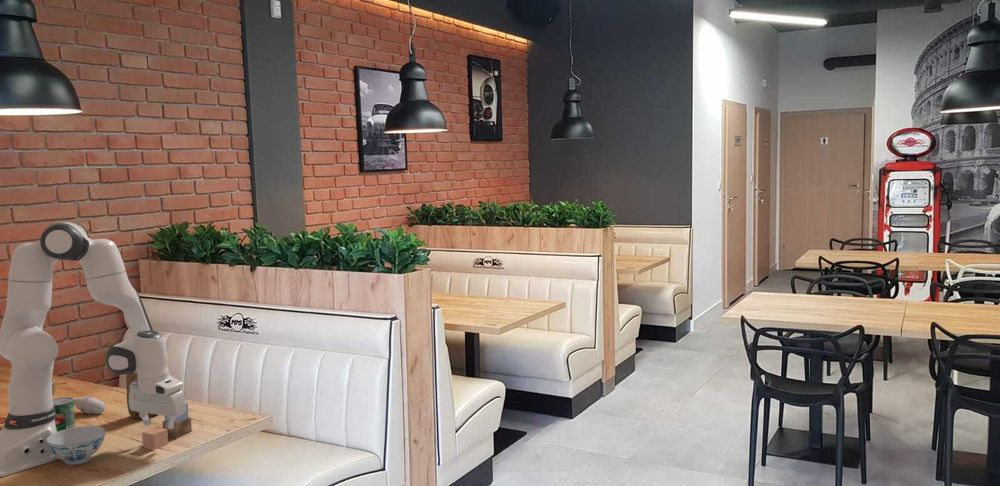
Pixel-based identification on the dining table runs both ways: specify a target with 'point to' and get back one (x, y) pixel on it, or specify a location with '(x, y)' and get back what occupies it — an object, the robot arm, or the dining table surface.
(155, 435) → the cube
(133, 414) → the brown oval lump
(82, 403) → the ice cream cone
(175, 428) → the tower base
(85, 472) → the dining table surface
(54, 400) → the canned tomato
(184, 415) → the tower mid
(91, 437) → the chinaware
